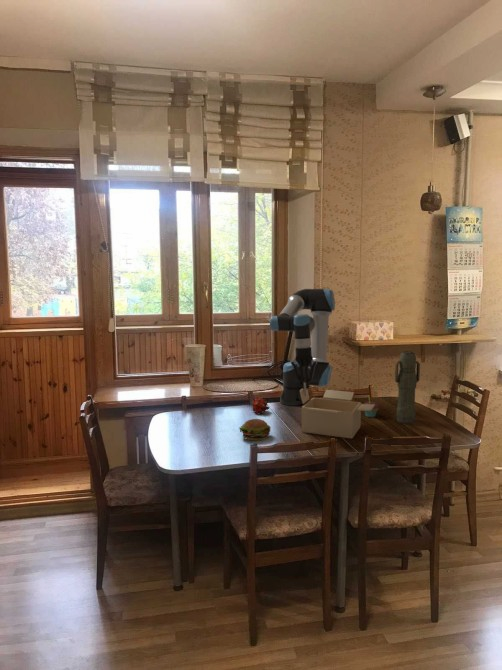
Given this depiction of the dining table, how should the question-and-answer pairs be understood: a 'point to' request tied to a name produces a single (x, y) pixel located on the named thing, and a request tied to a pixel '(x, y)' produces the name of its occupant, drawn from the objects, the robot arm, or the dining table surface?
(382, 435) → the dining table surface
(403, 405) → the thermos
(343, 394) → the flap far
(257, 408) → the dragon fruit
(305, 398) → the flap arm end
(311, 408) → the flap near
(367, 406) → the flap far end
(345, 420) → the carton
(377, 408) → the cupcake
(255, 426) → the food
